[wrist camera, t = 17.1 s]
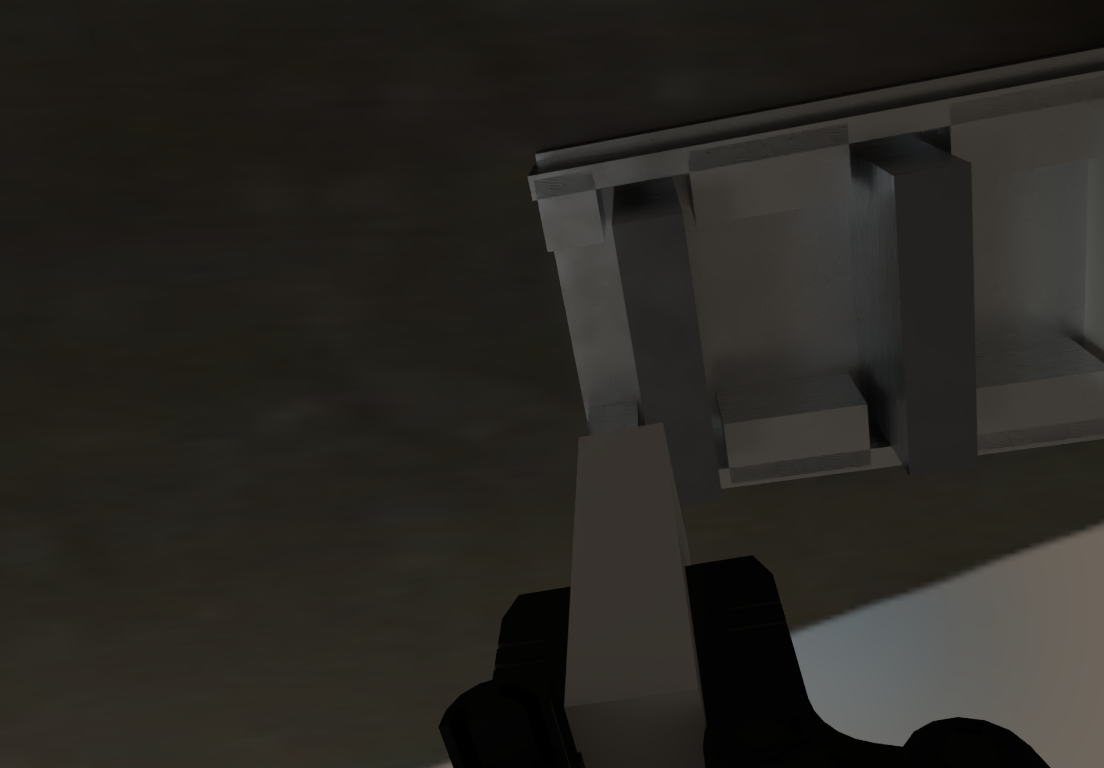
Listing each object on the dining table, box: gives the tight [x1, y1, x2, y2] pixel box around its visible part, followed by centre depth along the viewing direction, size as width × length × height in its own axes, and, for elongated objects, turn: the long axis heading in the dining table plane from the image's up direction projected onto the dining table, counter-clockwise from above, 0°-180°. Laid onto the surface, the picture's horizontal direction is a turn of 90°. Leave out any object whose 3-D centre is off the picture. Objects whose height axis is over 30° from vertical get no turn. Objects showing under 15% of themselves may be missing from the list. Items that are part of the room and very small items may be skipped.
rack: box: [528, 45, 1104, 506], centre depth 38 cm, size 29×16×9 cm, turn 101°
